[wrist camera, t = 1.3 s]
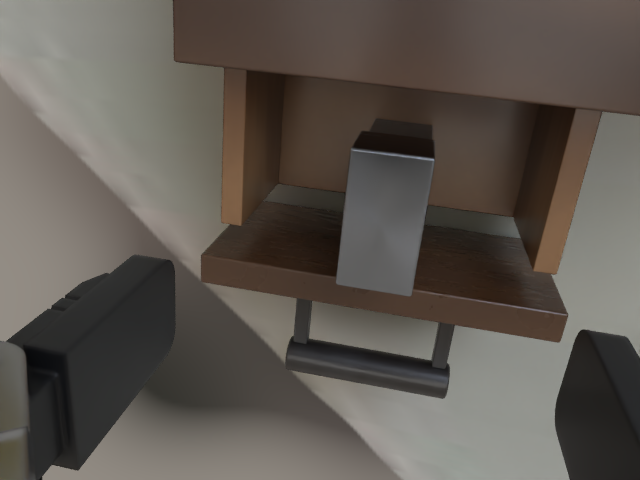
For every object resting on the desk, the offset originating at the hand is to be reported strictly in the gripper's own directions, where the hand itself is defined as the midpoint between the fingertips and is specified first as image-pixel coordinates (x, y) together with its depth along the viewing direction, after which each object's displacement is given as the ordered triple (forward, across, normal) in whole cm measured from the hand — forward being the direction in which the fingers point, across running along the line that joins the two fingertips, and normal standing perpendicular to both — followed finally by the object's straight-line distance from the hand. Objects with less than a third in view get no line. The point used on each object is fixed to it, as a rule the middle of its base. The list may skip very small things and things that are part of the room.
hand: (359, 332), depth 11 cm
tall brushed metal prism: (+14, 0, 0) cm, 15 cm away
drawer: (+16, 0, 0) cm, 16 cm away
